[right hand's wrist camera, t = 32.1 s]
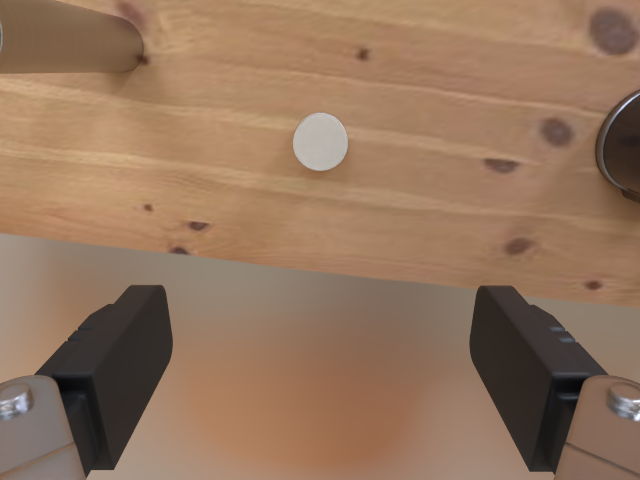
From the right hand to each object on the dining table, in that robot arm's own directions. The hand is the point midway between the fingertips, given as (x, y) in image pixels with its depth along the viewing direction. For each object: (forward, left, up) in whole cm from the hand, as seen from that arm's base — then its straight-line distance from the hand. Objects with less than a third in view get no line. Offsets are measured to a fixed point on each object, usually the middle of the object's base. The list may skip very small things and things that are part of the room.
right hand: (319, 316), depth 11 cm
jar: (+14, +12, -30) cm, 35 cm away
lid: (0, 0, -28) cm, 28 cm away
